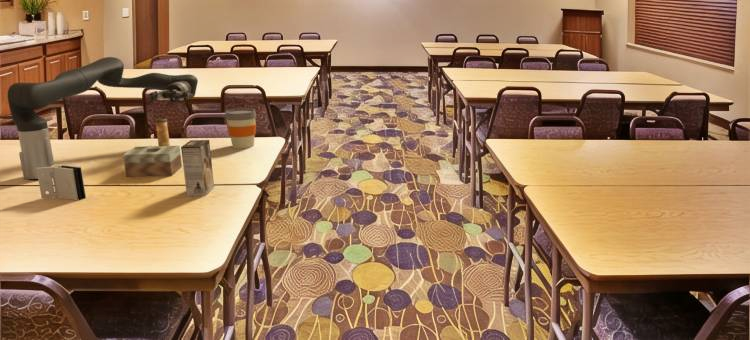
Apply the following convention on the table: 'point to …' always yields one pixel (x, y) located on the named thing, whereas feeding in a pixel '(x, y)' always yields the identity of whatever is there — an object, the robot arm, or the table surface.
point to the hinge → (61, 182)
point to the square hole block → (152, 161)
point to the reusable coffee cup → (241, 127)
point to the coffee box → (197, 167)
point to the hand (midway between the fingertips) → (164, 98)
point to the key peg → (162, 132)
